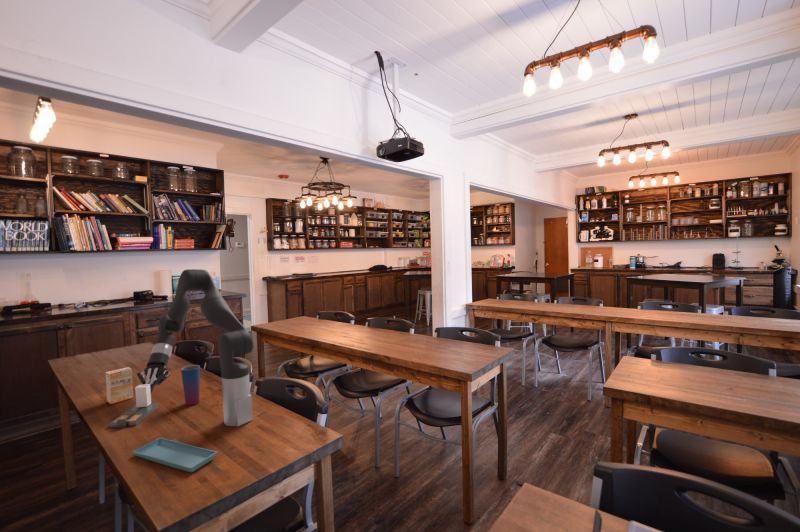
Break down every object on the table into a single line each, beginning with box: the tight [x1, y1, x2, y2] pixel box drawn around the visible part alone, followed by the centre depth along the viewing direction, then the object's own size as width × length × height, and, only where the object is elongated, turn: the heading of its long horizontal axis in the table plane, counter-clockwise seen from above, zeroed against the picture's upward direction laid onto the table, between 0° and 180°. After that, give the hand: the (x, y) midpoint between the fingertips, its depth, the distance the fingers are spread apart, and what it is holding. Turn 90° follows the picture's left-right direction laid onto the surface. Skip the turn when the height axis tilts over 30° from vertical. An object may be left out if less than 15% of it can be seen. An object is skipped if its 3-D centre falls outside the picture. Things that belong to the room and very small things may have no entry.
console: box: [109, 399, 160, 429], centre depth 145 cm, size 18×9×3 cm, turn 7°
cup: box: [180, 364, 201, 406], centre depth 156 cm, size 7×7×15 cm
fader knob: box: [134, 384, 152, 407], centre depth 150 cm, size 3×4×8 cm
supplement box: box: [105, 366, 134, 405], centre depth 161 cm, size 8×5×13 cm, turn 143°
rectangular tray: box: [132, 437, 218, 474], centre depth 116 cm, size 26×9×2 cm, turn 67°
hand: (146, 394), depth 153 cm, fingers closed
